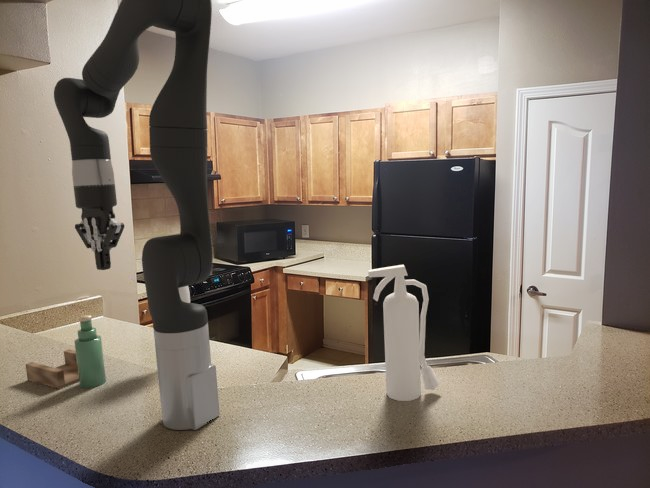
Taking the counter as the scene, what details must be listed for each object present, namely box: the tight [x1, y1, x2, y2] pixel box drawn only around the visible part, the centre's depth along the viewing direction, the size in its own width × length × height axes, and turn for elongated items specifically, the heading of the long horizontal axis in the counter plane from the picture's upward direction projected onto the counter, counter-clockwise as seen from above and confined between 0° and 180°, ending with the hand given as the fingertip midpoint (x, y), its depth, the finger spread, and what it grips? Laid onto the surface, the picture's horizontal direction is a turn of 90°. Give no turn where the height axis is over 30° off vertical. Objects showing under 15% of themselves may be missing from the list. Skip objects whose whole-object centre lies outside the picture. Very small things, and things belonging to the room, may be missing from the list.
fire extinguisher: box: [368, 264, 442, 402], centre depth 93 cm, size 7×12×25 cm, turn 85°
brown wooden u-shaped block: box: [25, 349, 79, 390], centre depth 112 cm, size 12×10×4 cm
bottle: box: [74, 314, 107, 389], centre depth 106 cm, size 5×5×15 cm
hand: (103, 269), depth 100 cm, fingers closed
